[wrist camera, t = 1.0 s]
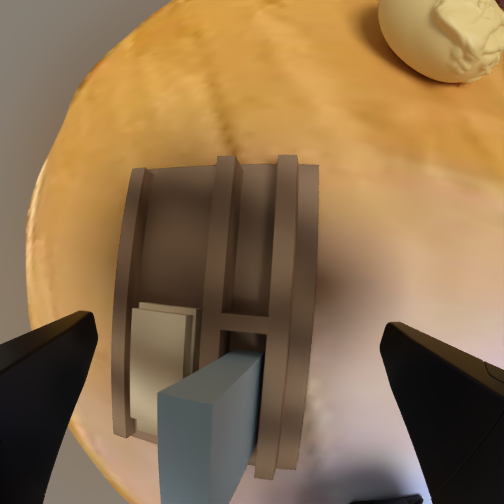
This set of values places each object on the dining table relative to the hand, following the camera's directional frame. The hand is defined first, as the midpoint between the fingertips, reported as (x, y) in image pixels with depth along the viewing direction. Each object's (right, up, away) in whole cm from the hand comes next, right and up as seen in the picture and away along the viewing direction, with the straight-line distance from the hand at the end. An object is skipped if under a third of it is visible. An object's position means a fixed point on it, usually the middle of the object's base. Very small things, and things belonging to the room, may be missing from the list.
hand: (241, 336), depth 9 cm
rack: (-2, -2, +13) cm, 14 cm away
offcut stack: (-6, -6, +12) cm, 15 cm away
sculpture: (+18, +22, +13) cm, 31 cm away
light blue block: (0, -8, +11) cm, 13 cm away
